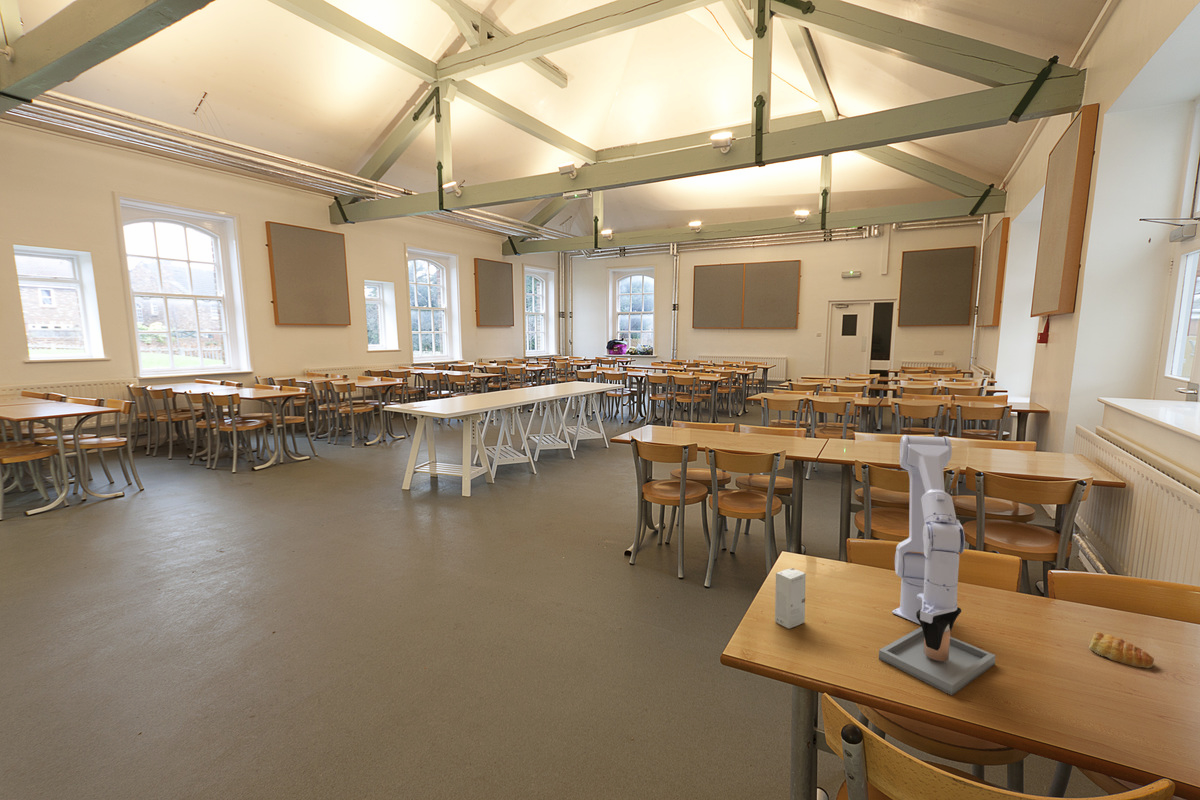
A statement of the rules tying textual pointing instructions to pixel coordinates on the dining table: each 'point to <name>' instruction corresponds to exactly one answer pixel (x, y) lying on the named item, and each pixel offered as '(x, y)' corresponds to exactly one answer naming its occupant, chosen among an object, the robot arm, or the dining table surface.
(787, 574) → the skincare box
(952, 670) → the tray
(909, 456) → the robot arm
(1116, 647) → the pastry
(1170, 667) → the dining table surface
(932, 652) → the shaker
